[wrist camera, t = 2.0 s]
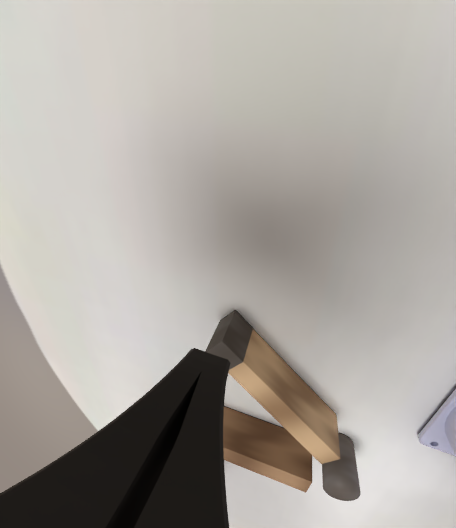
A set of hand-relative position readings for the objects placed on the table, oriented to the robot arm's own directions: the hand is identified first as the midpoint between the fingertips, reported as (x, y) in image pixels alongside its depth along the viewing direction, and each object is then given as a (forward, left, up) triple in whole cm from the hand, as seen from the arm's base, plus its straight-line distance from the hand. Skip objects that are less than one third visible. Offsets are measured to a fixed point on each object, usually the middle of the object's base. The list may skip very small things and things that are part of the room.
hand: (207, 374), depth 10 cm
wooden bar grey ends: (-4, +9, -10) cm, 14 cm away
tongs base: (-4, +15, -10) cm, 19 cm away
